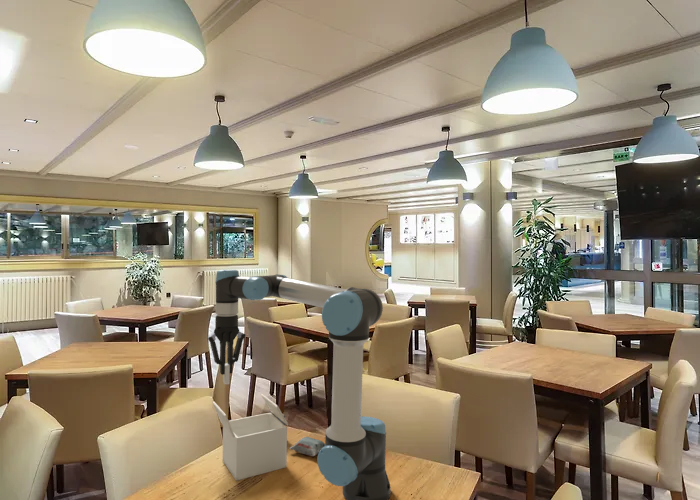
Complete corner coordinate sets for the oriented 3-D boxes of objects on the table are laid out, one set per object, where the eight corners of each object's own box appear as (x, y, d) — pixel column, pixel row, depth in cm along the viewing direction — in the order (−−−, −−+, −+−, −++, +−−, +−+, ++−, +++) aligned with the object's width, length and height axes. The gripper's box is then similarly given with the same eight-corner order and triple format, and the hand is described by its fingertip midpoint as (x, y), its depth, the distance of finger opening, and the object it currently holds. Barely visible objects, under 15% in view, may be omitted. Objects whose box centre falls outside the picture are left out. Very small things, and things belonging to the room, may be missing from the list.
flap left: (226, 414, 142) (224, 415, 142) (235, 437, 144) (233, 438, 144) (213, 401, 155) (212, 401, 155) (222, 421, 157) (220, 422, 157)
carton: (286, 466, 153) (287, 427, 153) (236, 480, 144) (236, 438, 144) (269, 449, 167) (270, 412, 167) (222, 460, 157) (223, 421, 157)
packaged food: (314, 461, 158) (314, 447, 158) (288, 453, 164) (289, 440, 164) (327, 452, 165) (328, 439, 165) (302, 445, 171) (303, 432, 171)
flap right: (287, 425, 154) (288, 424, 154) (276, 406, 152) (277, 405, 152) (271, 411, 167) (272, 410, 167) (260, 394, 164) (262, 393, 165)
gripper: (241, 312, 157) (241, 377, 156) (204, 314, 150) (203, 383, 149) (248, 314, 150) (248, 383, 150) (210, 317, 143) (209, 389, 143)
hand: (226, 383), depth 150 cm, fingers closed
